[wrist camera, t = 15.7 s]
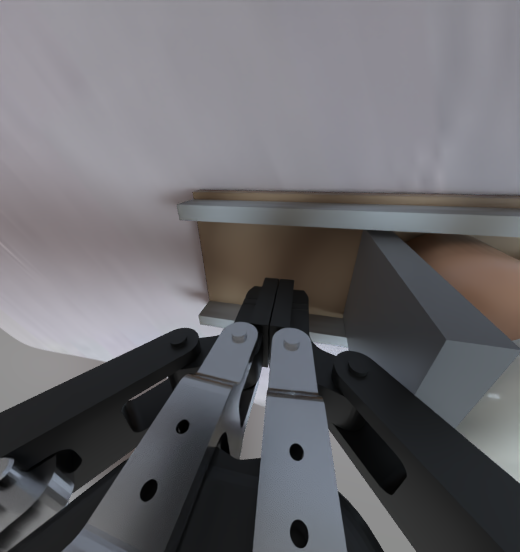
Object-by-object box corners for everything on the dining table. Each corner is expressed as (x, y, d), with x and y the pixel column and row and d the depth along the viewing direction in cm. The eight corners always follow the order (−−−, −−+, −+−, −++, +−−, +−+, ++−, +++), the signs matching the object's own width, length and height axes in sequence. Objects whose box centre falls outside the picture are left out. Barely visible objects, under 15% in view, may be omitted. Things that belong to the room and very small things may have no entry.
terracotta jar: (382, 230, 11) (494, 353, 4) (516, 225, 9) (1033, 397, 3) (368, 314, 13) (422, 475, 7) (472, 320, 12) (677, 530, 5)
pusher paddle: (389, 227, 11) (523, 350, 4) (362, 319, 14) (410, 480, 7) (363, 226, 11) (446, 339, 4) (342, 316, 14) (370, 470, 7)
